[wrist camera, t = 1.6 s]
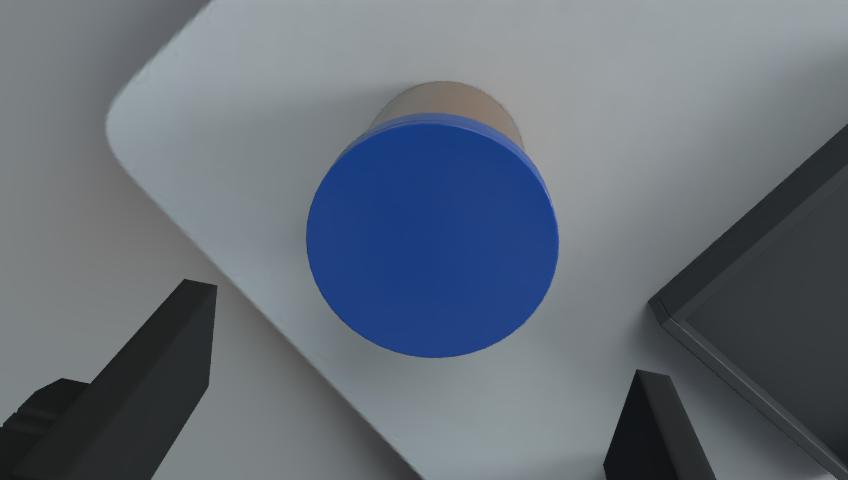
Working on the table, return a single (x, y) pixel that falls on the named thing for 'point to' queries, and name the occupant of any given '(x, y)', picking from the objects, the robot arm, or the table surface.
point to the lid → (433, 236)
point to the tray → (779, 306)
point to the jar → (451, 106)
